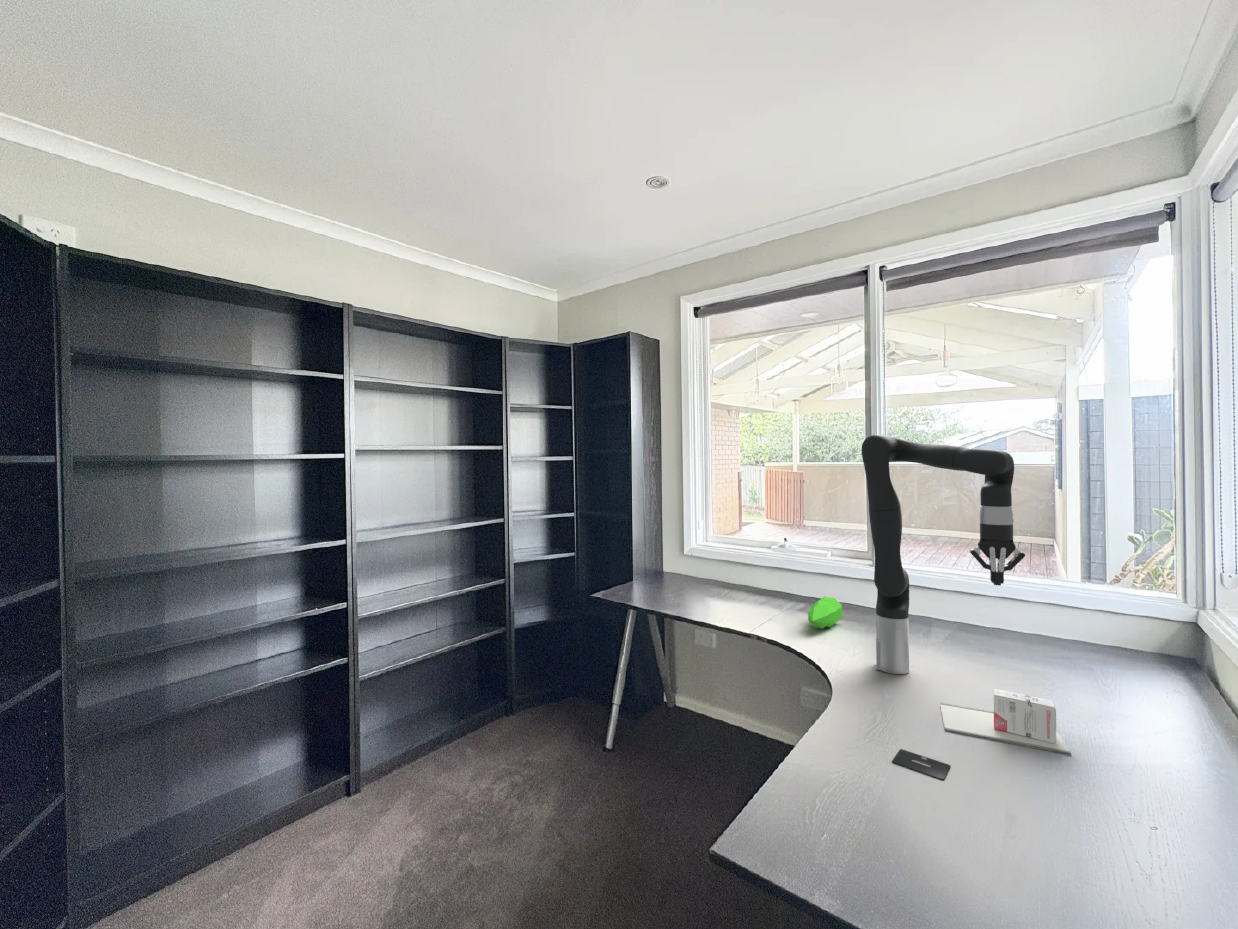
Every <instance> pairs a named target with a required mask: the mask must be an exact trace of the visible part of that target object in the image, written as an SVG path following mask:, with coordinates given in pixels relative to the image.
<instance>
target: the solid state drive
mask: <svg viewBox="0 0 1238 929" xmlns="http://www.w3.org/2000/svg"><path fill="white" fill-rule="evenodd" d="M891 763H892V764H894V765H896V766H900V767H902V768H905V767H906V768H905V769H907V770H911V771H913V772H917V773H920V774H922V775H925V776H928V777H931V778H934V779H937V780H939V781H945V780H946V778H947V776H948V774H949V772H950V770H951V767H952V766H951V765H950V764H948V763H945V762H942V761H939V760H935V759H934V758H933V759H932V758H931V757H927V756H924V755H921V754H917V753H914V752H912V751H909V750H905V749H902V748H900V749H899V750H898V752H897V753H896V755H895V756H894V757H893V758H892V760H891Z"/></svg>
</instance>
